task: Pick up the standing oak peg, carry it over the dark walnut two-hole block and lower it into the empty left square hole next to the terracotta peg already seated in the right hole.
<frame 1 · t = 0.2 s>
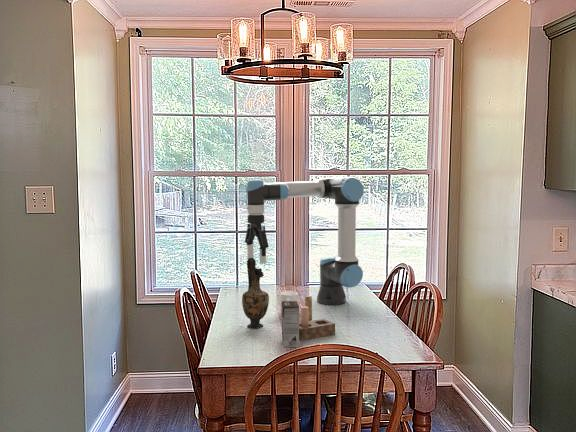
hand: (256, 261, 248), 28 cm above the table, fingers open, 13 cm apart
mug: (288, 315, 259), on the table
hole block: (313, 334, 229), on the table
oak peg: (308, 322, 247), on the table
vase: (255, 326, 242), on the table
terracotta peg: (304, 335, 227), resting in hole block
coffee box: (290, 343, 218), on the table
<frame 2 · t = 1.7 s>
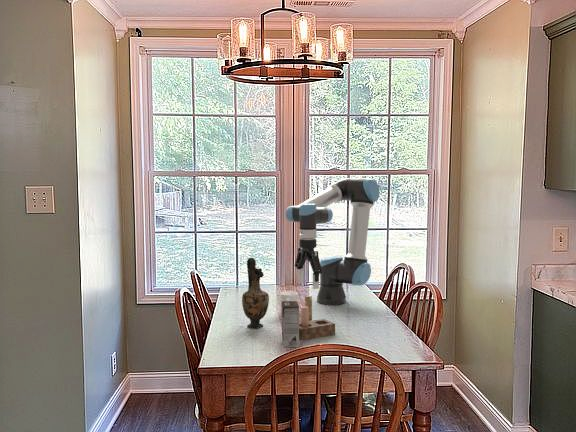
hand: (307, 285, 245), 17 cm above the table, fingers open, 13 cm apart
nothing on the table moved.
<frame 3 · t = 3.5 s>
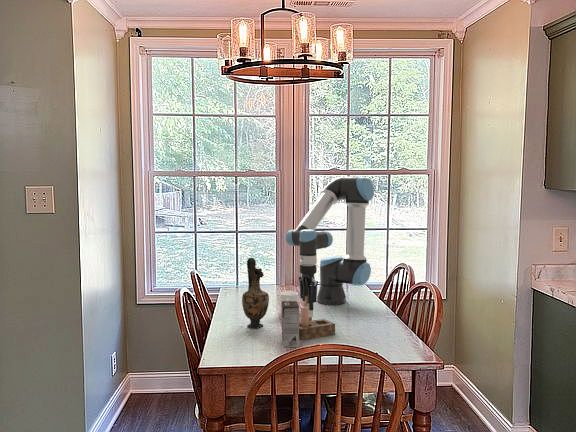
hand: (308, 315, 246), 3 cm above the table, fingers closed on oak peg, 3 cm apart
oak peg: (308, 322, 247), on the table, touching gripper
everything else where it was.
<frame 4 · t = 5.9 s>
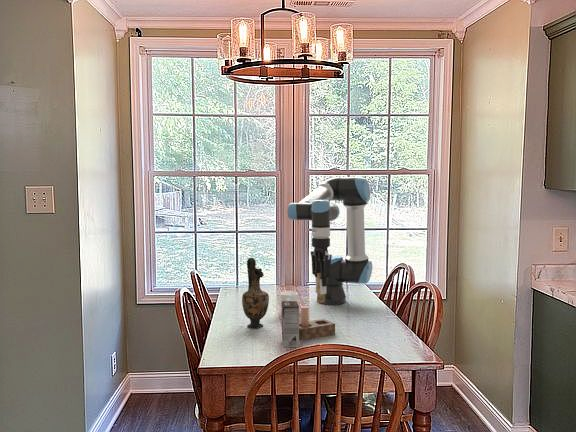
hand: (321, 293, 229), 17 cm above the table, fingers closed on oak peg, 3 cm apart
oak peg: (321, 301, 230), point 13 cm above the table, touching gripper
everything else where it was.
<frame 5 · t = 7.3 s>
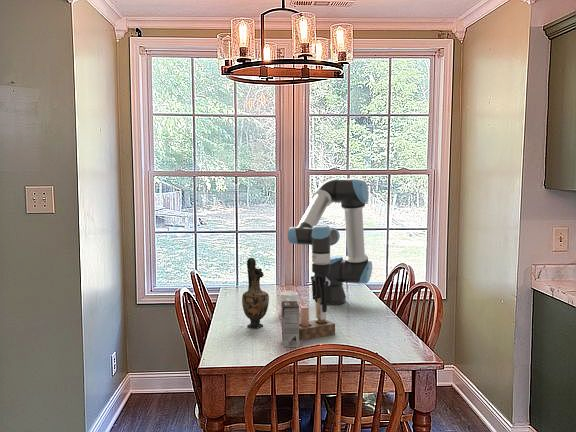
hand: (321, 318, 230), 6 cm above the table, fingers closed on oak peg, 3 cm apart
oak peg: (321, 326, 231), point 3 cm above the table, touching gripper
everything else where it was.
when the fingers open (5 cm above the table, at t = 8.3 s): oak peg drops 2 cm, resting in hole block.
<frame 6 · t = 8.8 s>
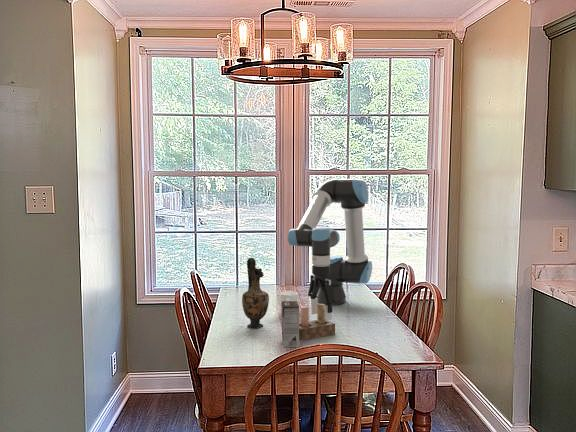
hand: (321, 316, 230), 7 cm above the table, fingers open, 10 cm apart
oak peg: (321, 332, 231), resting in hole block
everything else where it was.
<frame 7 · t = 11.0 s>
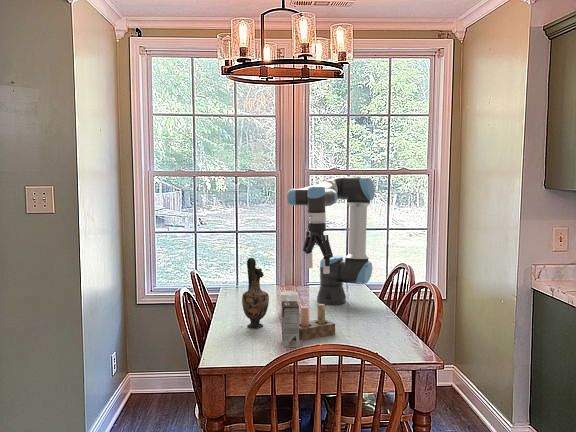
hand: (317, 270, 238), 25 cm above the table, fingers open, 13 cm apart
nothing on the table moved.
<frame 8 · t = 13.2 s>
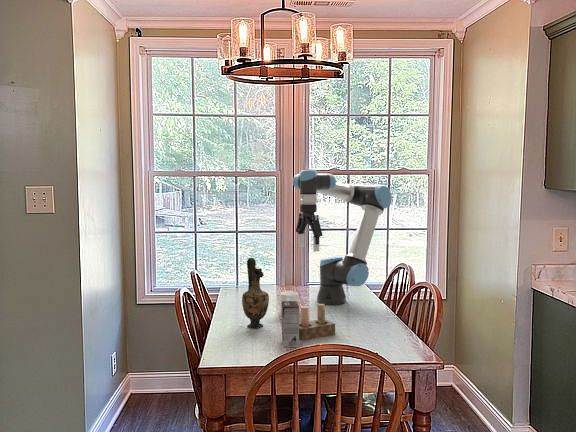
hand: (308, 249, 253), 32 cm above the table, fingers open, 13 cm apart
nothing on the table moved.
at the end: oak peg 0.1 cm from the target spot on the hole block, point 0.0 cm above the hole block's base; oak peg tilted 0°; the gripper is holding nothing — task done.
